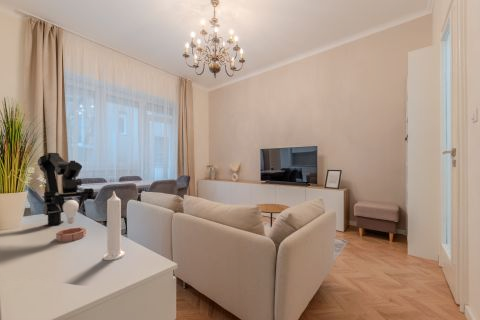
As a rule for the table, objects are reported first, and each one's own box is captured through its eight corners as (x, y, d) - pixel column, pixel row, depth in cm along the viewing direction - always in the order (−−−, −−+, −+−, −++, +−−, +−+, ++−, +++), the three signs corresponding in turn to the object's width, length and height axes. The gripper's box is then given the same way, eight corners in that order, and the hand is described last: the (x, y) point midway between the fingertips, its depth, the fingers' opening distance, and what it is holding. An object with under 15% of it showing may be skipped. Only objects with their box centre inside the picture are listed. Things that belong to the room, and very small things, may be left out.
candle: (115, 261, 81) (115, 193, 80) (98, 259, 82) (98, 192, 81) (128, 253, 87) (128, 190, 87) (113, 251, 89) (113, 189, 88)
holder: (63, 235, 107) (63, 228, 107) (88, 232, 110) (88, 226, 110) (52, 243, 97) (52, 236, 97) (80, 240, 100) (80, 233, 100)
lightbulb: (82, 221, 106) (82, 198, 106) (71, 225, 100) (71, 201, 100) (70, 221, 107) (70, 198, 107) (58, 225, 101) (58, 201, 100)
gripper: (44, 174, 100) (43, 202, 92) (93, 172, 112) (96, 197, 104) (44, 189, 106) (44, 217, 98) (91, 185, 118) (94, 210, 110)
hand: (71, 210), depth 102 cm, fingers closed on lightbulb, 6 cm apart
